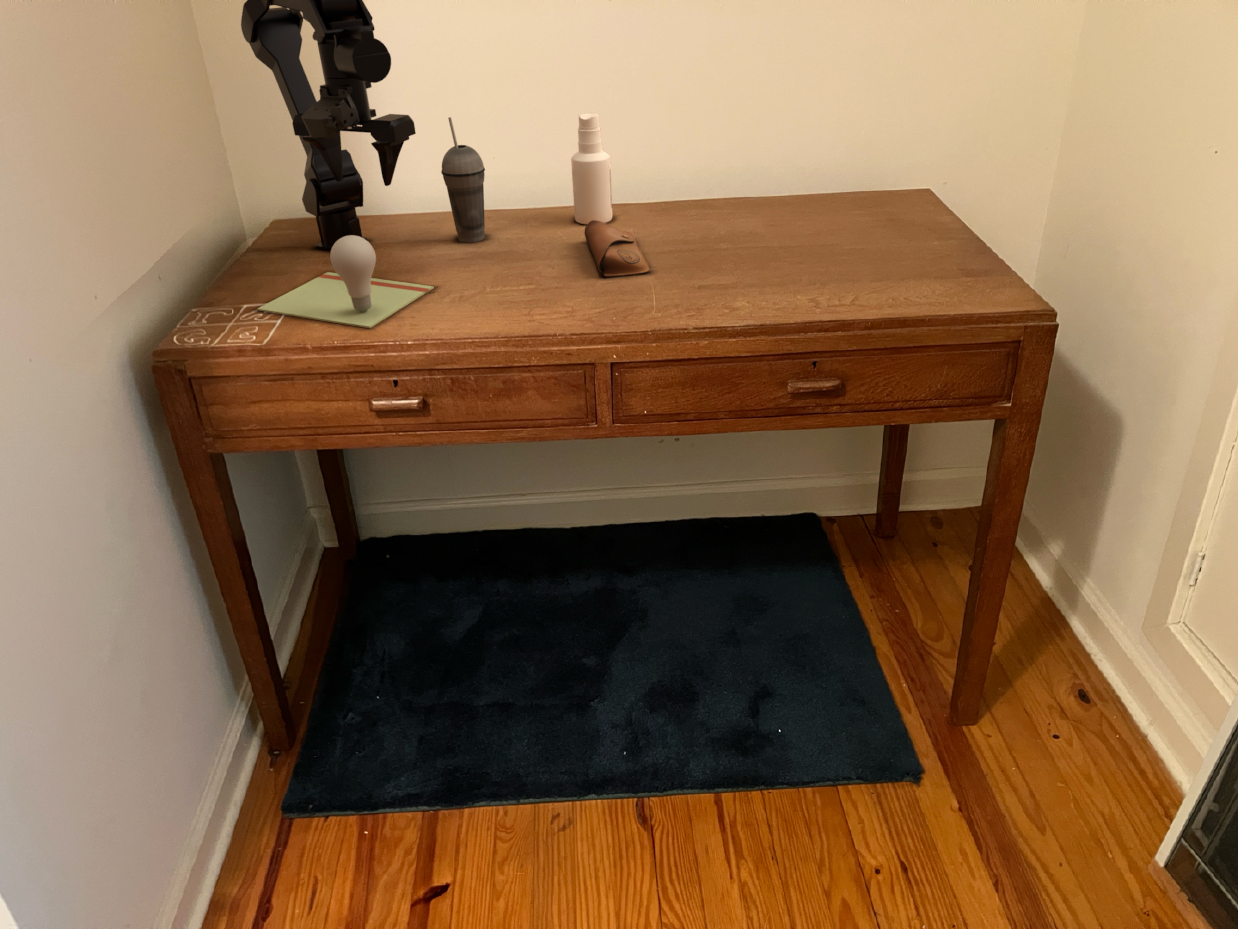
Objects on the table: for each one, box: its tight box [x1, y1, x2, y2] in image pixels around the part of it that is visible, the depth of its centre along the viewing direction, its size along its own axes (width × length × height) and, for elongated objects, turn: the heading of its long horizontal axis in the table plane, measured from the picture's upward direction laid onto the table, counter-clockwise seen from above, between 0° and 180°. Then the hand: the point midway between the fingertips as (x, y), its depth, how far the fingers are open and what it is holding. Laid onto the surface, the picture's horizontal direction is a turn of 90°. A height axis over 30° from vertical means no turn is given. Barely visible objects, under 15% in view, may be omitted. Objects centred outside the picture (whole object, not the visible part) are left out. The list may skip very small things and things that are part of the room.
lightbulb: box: [329, 235, 377, 312], centre depth 128 cm, size 6×6×11 cm
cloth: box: [257, 271, 435, 329], centre depth 136 cm, size 20×16×1 cm
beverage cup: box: [440, 116, 486, 243], centre depth 153 cm, size 7×7×20 cm
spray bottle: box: [570, 112, 613, 225], centre depth 160 cm, size 7×7×18 cm
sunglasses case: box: [584, 220, 651, 278], centre depth 147 cm, size 18×7×7 cm
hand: (363, 183), depth 142 cm, fingers open, 9 cm apart
